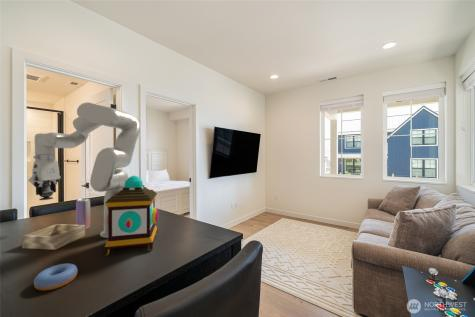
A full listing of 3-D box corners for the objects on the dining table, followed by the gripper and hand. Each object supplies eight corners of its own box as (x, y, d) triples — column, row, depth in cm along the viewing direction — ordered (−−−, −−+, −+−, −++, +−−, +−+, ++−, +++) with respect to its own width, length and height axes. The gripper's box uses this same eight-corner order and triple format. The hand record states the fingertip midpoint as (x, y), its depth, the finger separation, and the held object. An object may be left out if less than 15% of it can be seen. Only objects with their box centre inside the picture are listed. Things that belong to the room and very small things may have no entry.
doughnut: (28, 297, 54) (31, 279, 55) (36, 280, 62) (38, 265, 63) (75, 287, 60) (77, 271, 60) (77, 273, 68) (79, 259, 69)
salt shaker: (44, 200, 99) (43, 176, 99) (35, 200, 101) (34, 176, 100) (57, 198, 105) (56, 175, 105) (48, 197, 106) (47, 174, 106)
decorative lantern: (98, 258, 75) (98, 178, 75) (115, 237, 94) (115, 173, 94) (155, 252, 81) (155, 177, 80) (160, 233, 100) (160, 173, 99)
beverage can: (78, 230, 103) (78, 201, 103) (74, 227, 106) (74, 199, 106) (92, 227, 108) (91, 199, 107) (88, 224, 111) (88, 197, 111)
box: (84, 235, 97) (84, 225, 97) (55, 249, 82) (55, 237, 82) (56, 234, 98) (56, 224, 98) (22, 248, 83) (22, 236, 83)
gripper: (34, 158, 94) (35, 197, 94) (67, 157, 111) (68, 190, 111) (19, 158, 94) (20, 196, 94) (54, 158, 111) (55, 190, 112)
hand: (46, 193), depth 103 cm, fingers closed on salt shaker, 5 cm apart
